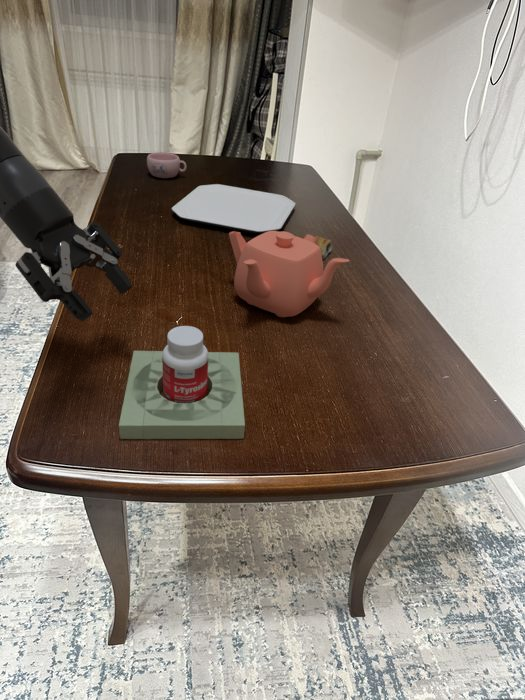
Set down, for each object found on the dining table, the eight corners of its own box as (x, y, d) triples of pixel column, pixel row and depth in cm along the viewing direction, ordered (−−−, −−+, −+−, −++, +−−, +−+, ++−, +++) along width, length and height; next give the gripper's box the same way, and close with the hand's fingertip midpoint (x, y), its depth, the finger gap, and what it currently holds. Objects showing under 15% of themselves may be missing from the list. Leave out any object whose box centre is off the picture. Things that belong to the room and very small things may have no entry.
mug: (144, 179, 148) (143, 159, 144) (150, 170, 156) (150, 150, 152) (184, 183, 148) (184, 163, 145) (188, 173, 156) (188, 154, 153)
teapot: (336, 325, 90) (351, 256, 82) (238, 329, 86) (244, 257, 78) (308, 278, 105) (319, 215, 97) (223, 280, 101) (226, 214, 92)
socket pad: (120, 439, 63) (118, 425, 62) (134, 363, 76) (133, 350, 74) (243, 438, 65) (245, 425, 64) (237, 365, 78) (238, 352, 76)
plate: (298, 205, 142) (299, 197, 140) (275, 242, 118) (276, 233, 117) (203, 188, 146) (203, 181, 144) (164, 221, 123) (163, 212, 121)
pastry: (286, 251, 115) (288, 235, 113) (296, 241, 120) (298, 226, 118) (324, 261, 112) (326, 245, 110) (332, 251, 117) (335, 236, 115)
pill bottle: (171, 418, 67) (170, 353, 61) (157, 390, 71) (154, 327, 65) (213, 406, 70) (216, 342, 63) (197, 380, 74) (198, 318, 67)
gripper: (-7, 202, 56) (88, 316, 59) (78, 173, 67) (153, 271, 70) (-30, 235, 60) (59, 339, 64) (52, 203, 71) (124, 293, 75)
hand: (108, 303), depth 67 cm, fingers open, 8 cm apart
